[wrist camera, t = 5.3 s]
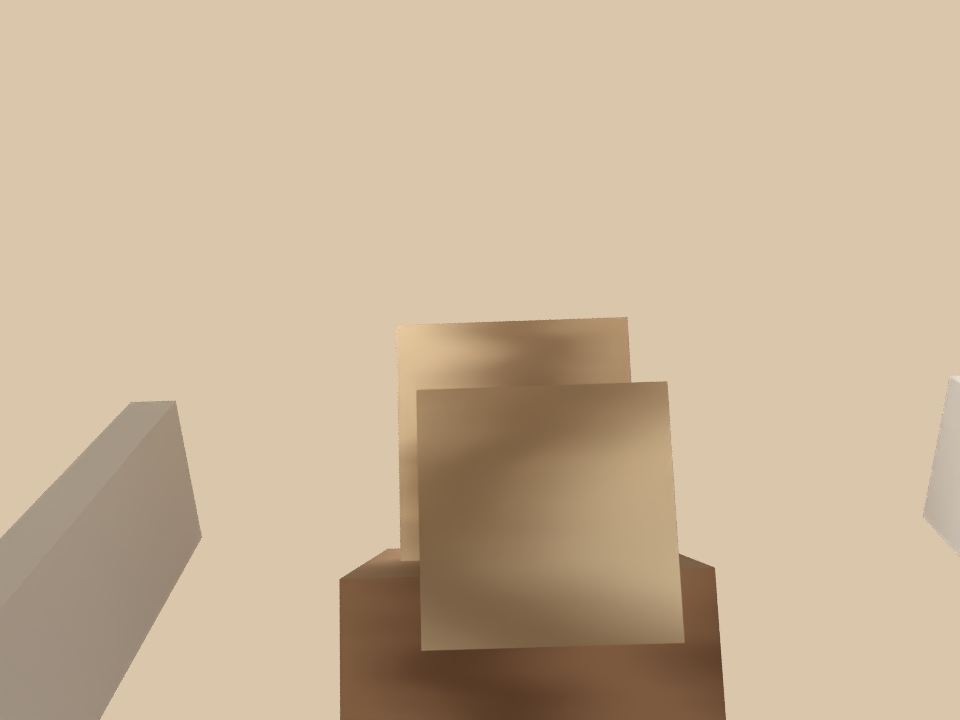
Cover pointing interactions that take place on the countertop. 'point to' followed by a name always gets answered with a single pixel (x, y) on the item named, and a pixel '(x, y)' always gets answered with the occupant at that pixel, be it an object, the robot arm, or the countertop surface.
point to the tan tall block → (536, 486)
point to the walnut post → (518, 662)
